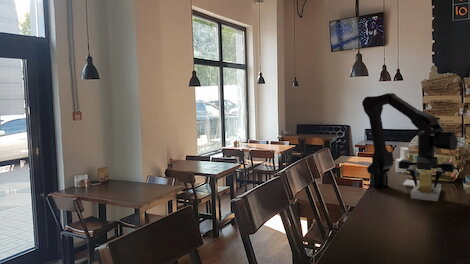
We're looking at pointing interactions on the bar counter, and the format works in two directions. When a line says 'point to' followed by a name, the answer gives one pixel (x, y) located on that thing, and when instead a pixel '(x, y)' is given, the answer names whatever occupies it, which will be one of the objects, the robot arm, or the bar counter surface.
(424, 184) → the square peg
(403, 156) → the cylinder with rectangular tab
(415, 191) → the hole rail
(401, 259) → the bar counter surface
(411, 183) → the pad
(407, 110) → the robot arm
